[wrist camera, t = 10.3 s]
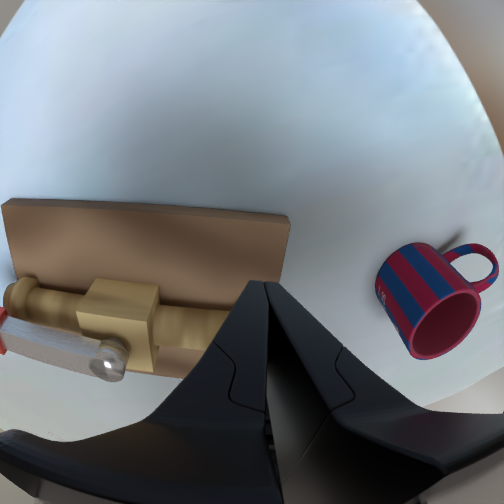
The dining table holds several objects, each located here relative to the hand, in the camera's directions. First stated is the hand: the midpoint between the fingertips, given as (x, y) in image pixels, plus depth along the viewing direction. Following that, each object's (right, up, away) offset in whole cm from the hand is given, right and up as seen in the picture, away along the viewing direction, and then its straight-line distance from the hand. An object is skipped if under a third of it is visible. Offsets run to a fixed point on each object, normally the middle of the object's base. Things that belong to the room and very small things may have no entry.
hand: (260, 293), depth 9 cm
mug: (+15, 0, +15) cm, 21 cm away
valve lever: (-15, -5, +8) cm, 18 cm away
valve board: (-10, -2, +14) cm, 18 cm away
